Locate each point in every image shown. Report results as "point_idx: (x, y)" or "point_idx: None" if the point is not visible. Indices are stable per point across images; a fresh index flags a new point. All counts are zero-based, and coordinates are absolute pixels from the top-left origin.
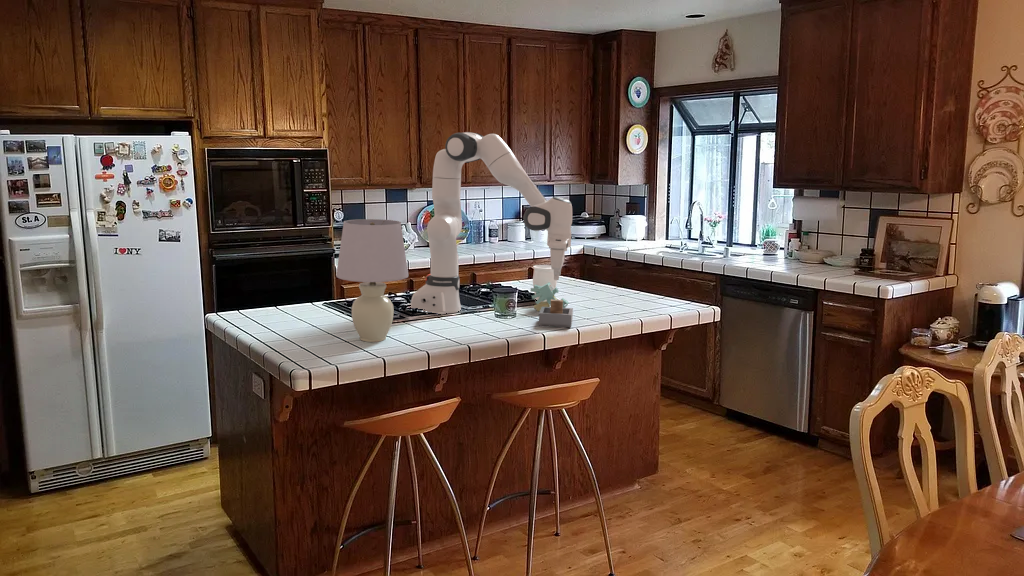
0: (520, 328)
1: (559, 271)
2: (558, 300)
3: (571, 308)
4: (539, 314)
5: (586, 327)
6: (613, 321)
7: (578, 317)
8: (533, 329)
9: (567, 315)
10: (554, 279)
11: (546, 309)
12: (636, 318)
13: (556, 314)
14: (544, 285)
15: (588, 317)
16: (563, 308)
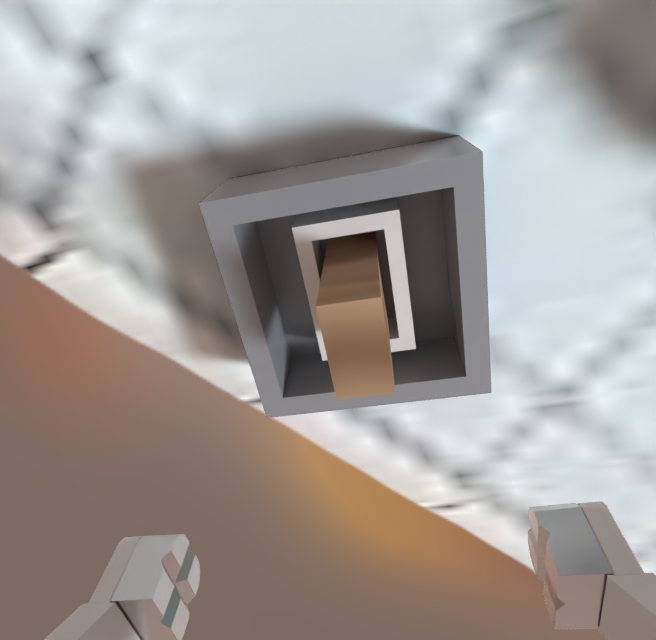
0: (94, 64)
1: (574, 619)
2: (357, 364)
3: (480, 385)
4: (203, 202)
5: (335, 429)
6: (524, 514)
7: (589, 356)
8: (124, 168)
9: (260, 393)
10: (125, 546)
11: (452, 198)
12: None
13: (240, 329)
14: None
15: (601, 405)
16: (463, 335)
